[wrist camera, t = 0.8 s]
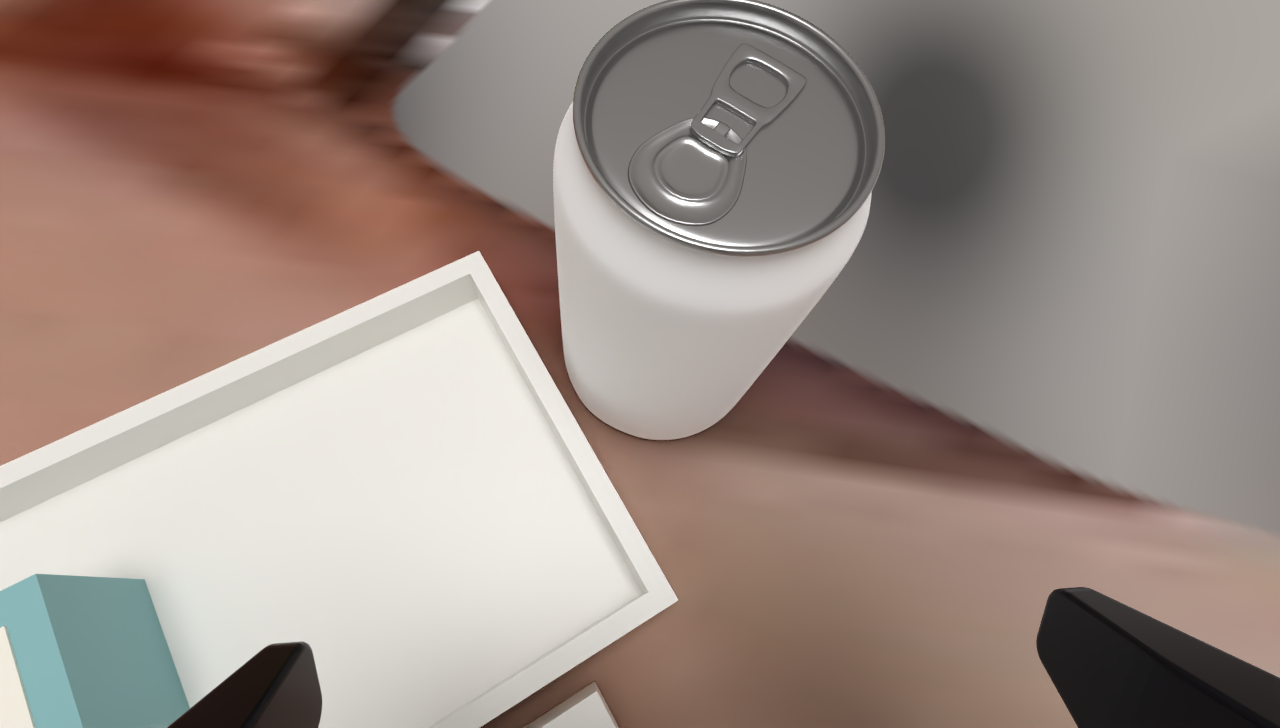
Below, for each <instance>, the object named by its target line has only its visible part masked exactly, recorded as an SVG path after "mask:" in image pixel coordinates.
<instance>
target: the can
mask: <svg viewBox="0 0 1280 728" xmlns="http://www.w3.org/2000/svg"><path fill="white" fill-rule="evenodd" d="M884 149H885V131H884V123H883V118H882V113H881V109H880V106H879V103H878V100H877V97H876V95H875V93H874V91H873V88H872V87H871V85H870V83H869V81H868V79H867V77H866V76H865V74H864V73H863V71H862V70H861V68H860V67H859V66H858V64H857V63H856V62H855V61H854V59H853V58H852V57H851V56H850V55H849V54H848V53H847V52H846V50H845V49H843V47H841V46H840V45H839V44H838V43H837V42H836V41H835V40H834V39H832V38H831V37H830V36H829V35H828V34H826V33H825V32H823V31H822V30H821V29H819V28H818V27H816V26H815V25H813V24H812V23H810V22H808V21H806V20H805V19H803V18H801V17H799V16H797V15H795V14H793V13H791V12H788V11H786V10H784V9H781V8H779V7H776V6H773V5H770V4H767V3H763V2H760V1H756V0H668V1H664V2H660V3H657V4H654V5H652V6H649V7H647V8H644V9H642V10H640V11H638V12H636V13H634V14H632V15H630V16H629V17H627V18H625V19H624V20H622V21H621V22H620V23H618V24H617V25H616V26H614V27H613V28H612V29H611V30H610V31H608V32H607V33H606V35H604V36H603V37H602V38H601V39H600V41H599V42H598V43H597V44H596V45H595V47H594V48H593V49H592V51H591V52H590V54H589V56H588V57H587V59H586V61H585V62H584V64H583V67H582V69H581V71H580V74H579V76H578V80H577V83H576V87H575V92H574V99H573V102H572V104H571V105H570V107H569V109H568V111H567V113H566V115H565V117H564V119H563V121H562V124H561V127H560V130H559V133H558V137H557V141H556V146H555V154H554V164H553V195H554V217H555V235H556V252H557V268H558V283H559V299H560V313H561V327H562V340H563V351H564V359H565V364H566V369H567V372H568V375H569V378H570V381H571V383H572V385H573V387H574V389H575V391H576V393H577V395H578V396H579V398H580V400H581V401H582V403H583V404H584V405H585V406H586V407H587V409H588V410H589V411H590V412H591V413H593V414H594V415H595V416H596V417H598V418H599V419H600V420H602V421H603V422H605V423H606V424H608V425H610V426H612V427H614V428H616V429H618V430H620V431H622V432H625V433H627V434H630V435H633V436H636V437H640V438H644V439H651V440H672V439H679V438H684V437H688V436H691V435H694V434H696V433H699V432H701V431H703V430H705V429H707V428H709V427H710V426H712V425H714V424H715V423H717V422H718V421H719V420H720V419H722V418H723V417H724V416H725V415H726V414H727V413H728V412H729V411H730V410H731V409H732V408H733V407H734V406H735V405H736V403H737V402H738V401H739V400H740V399H741V397H742V396H743V395H744V394H745V393H746V391H747V390H748V389H749V388H750V387H751V385H752V384H753V383H754V382H755V380H756V379H757V378H758V377H759V375H760V374H761V373H762V372H763V370H764V369H765V368H766V367H767V365H768V364H769V363H770V362H771V360H772V359H773V358H774V357H775V355H776V354H777V353H778V352H779V350H780V349H781V348H782V347H783V345H784V344H785V343H786V341H787V340H788V339H789V338H790V336H791V335H792V334H793V333H794V331H795V330H796V329H797V328H798V326H799V325H800V324H801V323H802V321H803V320H804V319H805V317H806V316H807V315H808V313H809V312H810V311H811V310H812V308H813V307H814V306H815V305H816V303H817V302H818V301H819V300H820V298H821V297H822V296H823V294H824V293H825V292H826V290H827V289H828V288H829V287H830V285H831V284H832V282H833V281H834V280H835V278H836V277H837V276H838V275H839V273H840V272H841V270H842V269H843V267H844V266H845V265H846V263H847V262H848V260H849V259H850V257H851V255H852V254H853V252H854V250H855V248H856V246H857V244H858V242H859V241H860V239H861V236H862V234H863V232H864V229H865V226H866V222H867V218H868V214H869V209H870V203H871V191H872V189H873V188H874V186H875V183H876V181H877V179H878V176H879V173H880V170H881V167H882V162H883V157H884Z"/></svg>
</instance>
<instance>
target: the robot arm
mask: <svg viewBox="0 0 1280 728" xmlns="http://www.w3.org/2000/svg"><path fill="white" fill-rule="evenodd" d="M1036 643H1037V651H1038V654H1039V657H1040V660H1041V662H1042V664H1043V665H1044V667H1045V669H1046V671H1047V673H1048V674H1049V676H1050V678H1051V680H1052V682H1053V683H1054V685H1055V687H1056V689H1057V690H1058V692H1059V694H1060V696H1061V698H1062V699H1063V701H1064V703H1065V705H1066V707H1067V708H1068V710H1069V712H1070V714H1071V716H1072V717H1073V719H1074V721H1075V723H1076V724H1077V726H1078V728H1280V678H1279V677H1277V676H1275V675H1272V674H1270V673H1268V672H1266V671H1264V670H1262V669H1260V668H1258V667H1255V666H1253V665H1251V664H1249V663H1247V662H1245V661H1243V660H1241V659H1239V658H1236V657H1234V656H1232V655H1230V654H1228V653H1226V652H1224V651H1222V650H1219V649H1217V648H1215V647H1213V646H1211V645H1209V644H1207V643H1205V642H1203V641H1200V640H1198V639H1196V638H1194V637H1192V636H1190V635H1188V634H1186V633H1184V632H1181V631H1179V630H1177V629H1175V628H1173V627H1171V626H1169V625H1167V624H1164V623H1162V622H1160V621H1158V620H1156V619H1154V618H1152V617H1150V616H1148V615H1145V614H1143V613H1141V612H1139V611H1137V610H1135V609H1133V608H1131V607H1128V606H1126V605H1124V604H1122V603H1120V602H1118V601H1116V600H1114V599H1112V598H1109V597H1107V596H1105V595H1103V594H1101V593H1099V592H1097V591H1095V590H1092V589H1090V588H1085V587H1076V588H1062V589H1057V590H1054V591H1053V592H1052V593H1051V594H1050V595H1049V597H1048V600H1047V603H1046V607H1045V610H1044V614H1043V617H1042V621H1041V624H1040V628H1039V631H1038V635H1037V640H1036ZM321 713H322V693H321V688H320V684H319V679H318V674H317V670H316V665H315V660H314V656H313V652H312V649H311V647H310V645H309V644H308V643H306V642H302V641H300V642H286V643H274V644H270V645H268V646H266V647H265V648H263V649H262V650H261V651H259V652H258V653H257V654H256V655H255V656H253V657H252V658H251V659H250V660H248V661H247V662H246V663H245V664H244V665H242V666H241V667H240V668H239V669H237V670H236V671H235V672H234V673H233V674H231V675H230V676H229V677H228V678H226V679H225V680H224V681H223V682H222V683H220V684H219V685H218V686H217V687H215V688H214V689H213V690H212V691H211V692H209V693H208V694H207V695H206V696H205V697H203V698H202V699H201V700H200V701H198V702H197V703H196V704H195V705H194V706H192V707H191V708H190V709H189V710H187V711H186V712H185V713H184V714H183V715H181V716H180V717H179V718H178V719H176V720H175V721H174V722H173V723H172V724H170V725H169V726H168V727H167V728H318V727H319V723H320V719H321Z"/></svg>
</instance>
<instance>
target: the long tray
mask: <svg viewBox="0 0 1280 728" xmlns="http://www.w3.org/2000/svg"><path fill="white" fill-rule="evenodd" d="M34 574H52V575H71V576H90V577H109V578H129V579H145V582H146V585H147V588H148V590H149V593H150V596H151V599H152V602H153V605H154V607H155V610H156V613H157V616H158V619H159V622H160V624H161V627H162V630H163V633H164V636H165V639H166V641H167V644H168V647H169V650H170V653H171V656H172V658H173V661H174V664H175V667H176V670H177V673H178V675H179V678H180V681H181V684H182V687H183V690H184V692H185V695H186V698H187V701H188V704H189V707H190V708H191V707H192V706H194V705H195V704H196V703H197V702H198V701H200V700H201V699H202V698H203V697H205V696H206V695H207V694H208V693H209V692H211V691H212V690H213V689H214V688H215V687H217V686H218V685H219V684H220V683H222V682H223V681H224V680H225V679H226V678H228V677H229V676H230V675H231V674H233V673H234V672H235V671H236V670H237V669H239V668H240V667H241V666H242V665H244V664H245V663H246V662H247V661H248V660H250V659H251V658H252V657H253V656H255V655H256V654H257V653H258V652H259V651H261V650H262V649H263V648H265V647H266V646H268V645H270V644H274V643H286V642H300V641H302V642H306V643H308V644H309V645H310V647H311V649H312V652H313V656H314V660H315V665H316V670H317V674H318V679H319V684H320V688H321V693H322V713H321V719H320V723H319V727H318V728H480V727H481V726H483V725H484V724H486V723H488V722H489V721H491V720H492V719H494V718H495V717H497V716H499V715H500V714H502V713H503V712H505V711H506V710H508V709H509V708H511V707H513V706H514V705H516V704H517V703H519V702H520V701H522V700H524V699H525V698H527V697H528V696H530V695H531V694H533V693H534V692H536V691H538V690H539V689H541V688H542V687H544V686H545V685H547V684H548V683H550V682H552V681H553V680H555V679H556V678H558V677H559V676H561V675H563V674H564V673H566V672H567V671H569V670H570V669H572V668H573V667H575V666H577V665H578V664H580V663H581V662H583V661H584V660H586V659H587V658H589V657H591V656H592V655H594V654H595V653H597V652H598V651H600V650H602V649H603V648H605V647H606V646H608V645H609V644H611V643H612V642H614V641H616V640H617V639H619V638H620V637H622V636H623V635H625V634H627V633H628V632H630V631H631V630H633V629H634V628H636V627H637V626H639V625H641V624H642V623H644V622H645V621H647V620H648V619H650V618H651V617H653V616H655V615H656V614H658V613H659V612H661V611H662V610H664V609H666V608H667V607H669V606H670V605H672V604H673V603H675V602H676V601H678V599H677V597H676V595H675V593H674V592H673V590H672V588H671V586H670V585H669V583H668V581H667V579H666V578H665V576H664V574H663V572H662V571H661V569H660V567H659V565H658V564H657V562H656V560H655V558H654V557H653V555H652V553H651V551H650V550H649V548H648V546H647V544H646V543H645V541H644V539H643V537H642V535H641V534H640V532H639V530H638V528H637V527H636V525H635V523H634V521H633V520H632V518H631V516H630V514H629V513H628V511H627V509H626V507H625V506H624V504H623V502H622V500H621V499H620V497H619V495H618V493H617V492H616V490H615V488H614V486H613V485H612V483H611V481H610V479H609V478H608V476H607V474H606V472H605V471H604V469H603V467H602V465H601V464H600V462H599V460H598V458H597V457H596V455H595V453H594V451H593V450H592V448H591V446H590V444H589V443H588V441H587V439H586V437H585V436H584V434H583V432H582V430H581V429H580V427H579V425H578V423H577V422H576V420H575V418H574V416H573V415H572V413H571V411H570V409H569V408H568V406H567V404H566V402H565V401H564V399H563V397H562V395H561V394H560V392H559V390H558V388H557V387H556V385H555V383H554V381H553V380H552V378H551V376H550V374H549V373H548V371H547V369H546V367H545V366H544V364H543V362H542V360H541V359H540V357H539V355H538V353H537V352H536V350H535V348H534V346H533V344H532V343H531V341H530V339H529V337H528V336H527V334H526V332H525V330H524V329H523V327H522V325H521V323H520V322H519V320H518V318H517V316H516V315H515V313H514V311H513V309H512V308H511V306H510V304H509V302H508V301H507V299H506V297H505V295H504V294H503V292H502V290H501V288H500V287H499V285H498V283H497V281H496V280H495V278H494V276H493V274H492V273H491V271H490V269H489V267H488V266H487V264H486V262H485V260H484V259H483V257H482V255H481V253H480V252H479V251H477V252H475V253H473V254H471V255H468V256H466V257H464V258H462V259H460V260H457V261H455V262H453V263H451V264H448V265H446V266H444V267H442V268H440V269H437V270H435V271H433V272H431V273H428V274H426V275H424V276H422V277H420V278H417V279H415V280H413V281H411V282H408V283H406V284H404V285H402V286H400V287H397V288H395V289H393V290H391V291H388V292H386V293H384V294H382V295H380V296H377V297H375V298H373V299H371V300H368V301H366V302H364V303H362V304H360V305H357V306H355V307H353V308H351V309H348V310H346V311H344V312H342V313H340V314H337V315H335V316H333V317H331V318H328V319H326V320H324V321H322V322H320V323H317V324H315V325H313V326H311V327H308V328H306V329H304V330H302V331H300V332H297V333H295V334H293V335H291V336H288V337H286V338H284V339H282V340H280V341H277V342H275V343H273V344H271V345H268V346H266V347H264V348H262V349H260V350H257V351H255V352H253V353H251V354H248V355H246V356H244V357H242V358H240V359H237V360H235V361H233V362H231V363H228V364H226V365H224V366H222V367H220V368H217V369H215V370H213V371H211V372H208V373H206V374H204V375H202V376H200V377H197V378H195V379H193V380H191V381H188V382H186V383H184V384H182V385H179V386H177V387H175V388H173V389H171V390H168V391H166V392H164V393H162V394H159V395H157V396H155V397H153V398H151V399H148V400H146V401H144V402H142V403H139V404H137V405H135V406H133V407H131V408H128V409H126V410H124V411H122V412H119V413H117V414H115V415H113V416H111V417H108V418H106V419H104V420H102V421H99V422H97V423H95V424H93V425H91V426H88V427H86V428H84V429H82V430H79V431H77V432H75V433H73V434H71V435H68V436H66V437H64V438H62V439H59V440H57V441H55V442H53V443H51V444H48V445H46V446H44V447H42V448H39V449H37V450H35V451H33V452H31V453H28V454H26V455H24V456H22V457H19V458H17V459H15V460H13V461H11V462H8V463H6V464H4V465H2V466H0V591H1V590H3V589H6V588H8V587H10V586H12V585H14V584H16V583H18V582H20V581H22V580H24V579H26V578H28V577H30V576H32V575H34Z"/></svg>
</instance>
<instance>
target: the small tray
mask: <svg viewBox="0 0 1280 728" xmlns="http://www.w3.org/2000/svg"><path fill="white" fill-rule="evenodd" d="M524 728H619V727H618V725H617V723H616V721H615V719H614V717H613V715H612V713H611V711H610V709H609V707H608V705H607V704H606V702H605V700H604V698H603V696H602V694H601V692H600V690H599V688H598V686H597V684H596V682H595V681H594V682H593V683H591V684H590V685H588V686H587V687H585V688H584V689H582V690H580V691H579V692H577V693H576V694H574V695H573V696H571V697H570V698H568V699H567V700H565V701H564V702H562V703H561V704H559V705H557V706H556V707H554V708H553V709H551V710H550V711H548V712H547V713H545V714H544V715H542V716H541V717H539V718H538V719H536V720H534V721H533V722H531V723H530V724H528V725H527V726H525V727H524Z"/></svg>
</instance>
